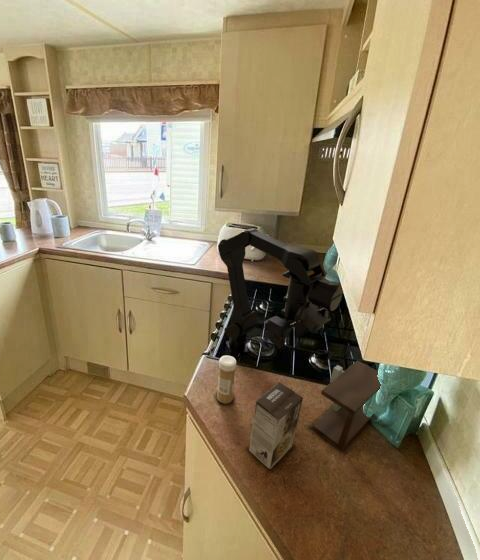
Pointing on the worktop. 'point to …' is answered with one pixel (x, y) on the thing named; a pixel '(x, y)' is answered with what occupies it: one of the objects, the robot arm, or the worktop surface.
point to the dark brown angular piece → (347, 404)
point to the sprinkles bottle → (226, 379)
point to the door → (335, 374)
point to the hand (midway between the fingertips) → (289, 342)
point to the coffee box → (274, 424)
